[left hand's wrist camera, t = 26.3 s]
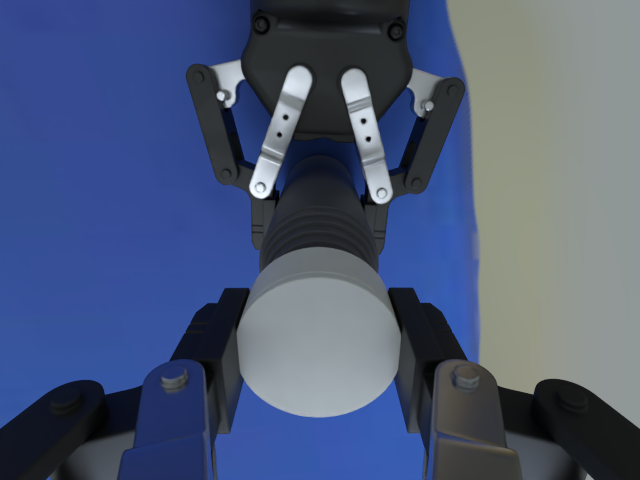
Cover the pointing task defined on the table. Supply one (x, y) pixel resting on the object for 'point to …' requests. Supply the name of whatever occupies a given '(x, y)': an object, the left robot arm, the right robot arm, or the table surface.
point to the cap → (318, 334)
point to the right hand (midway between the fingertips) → (317, 255)
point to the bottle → (319, 214)
